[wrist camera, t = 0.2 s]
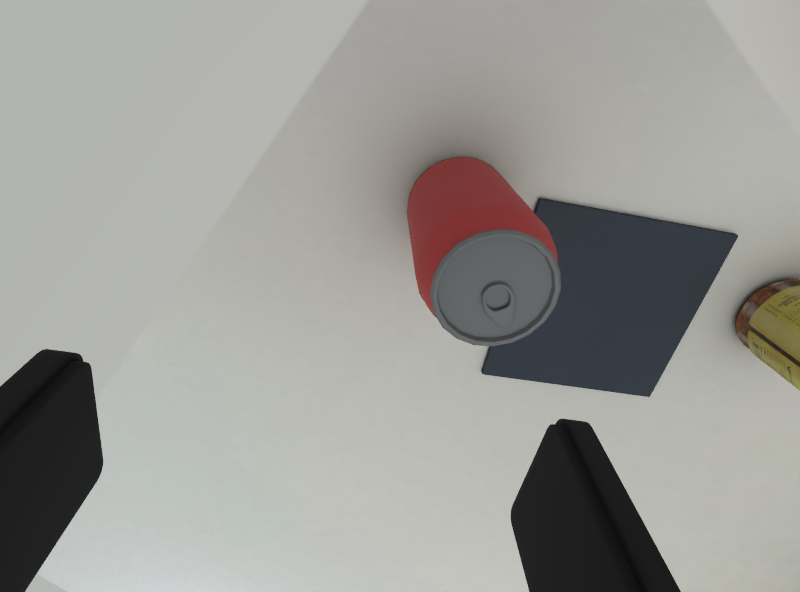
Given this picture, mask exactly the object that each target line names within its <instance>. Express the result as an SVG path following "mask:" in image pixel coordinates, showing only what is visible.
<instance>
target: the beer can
mask: <svg viewBox="0 0 800 592" xmlns="http://www.w3.org/2000/svg"><path fill="white" fill-rule="evenodd" d="M407 217H408V224H409V231H410V239H411V246H412V253H413V260H414V268H415V275H416V280H417V284H418V289H419V293H420V295H421V297H422V298H423V300H424V301H425V303H426V305H427V306H428V308H429V309H430V311H431V312H432V314H433V315H434V316H435V317H436V318H437V319H438V320H439V322H440V324H441V325H442V327H443V328H444V329H445V330H447V331H448V332H449V333H451V334H452V335H453V336H454V337H456V338H457V339H460V340H462V341H465V342H468V343H470V344H473V345H483V346H497V345H502V344H508V343H512V342H514V341H517V340H519V339H521V338H523V337H525V336H527V335H529V334H531V333H532V332H533V331H534V330H536V329H537V328H538V327H539V326H540V325H542V324H543V323H544V322H545V321H546V319H547V318H548V316H549V315H550V314H551V312H552V311H553V309H554V308H555V306H556V303H557V300H558V297H559V293H560V290H561V278H560V269H559V266H558V259H557V250H556V246H555V244H554V242H553V240H552V237H551V235H550V233H549V230H548V228H547V227H546V226H545V225H544V223H543V222H542V221H541V220H540V219H539V218H538V217H537V216H536V214H535V213H534V212H533V211H532V210H531V209H530V208H529V206H528V205H527V204H526V203H525V202H524V201H523V200H522V199H521V197H520V196H519V195H518V194H517V193H516V192H515V191H514V189H513V188H512V187H511V186H510V185H509V184H508V183H507V182H506V180H505V179H504V178H503V177H502V176H501V175H500V174H499V173H498V172H497V171H496V170H495V169H494V168H493V167H492V166H491V165H489V164H487V163H484V162H482V161H480V160H478V159H475V158H466V157H456V158H452V159H447V160H443V161H441V162H439V163H437V164H436V165H434V166H432V167H430V168H429V169H427V170H426V171H425V172H424V173H423V175H422V176H421V177H420V178H419V179H418V180H417V181H416V183H415V185H414V187H413V189H412V191H411V193H410V195H409V200H408V208H407Z"/></svg>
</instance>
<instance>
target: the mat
mask: <svg viewBox="0 0 800 592" xmlns="http://www.w3.org/2000/svg"><path fill="white" fill-rule="evenodd" d="M534 213H535V214H536V216H537V217H538V218H539V219H540V220H541V221H542V222H543V223H544V225H545V226H546V227H547V228H548V230H549V233H550V235H551V237H552V240H553V242H554V244H555V246H556V250H557V259H558V266H559V269H560V278H561V290H560V293H559V297H558V300H557V303H556V306H555V308H554V309H553V311H552V312H551V314H550V315H549V316H548V318H547V319H546V321H545V322H544V323H543V324H542V325H540V326H539V327H538V328H537V329H536V330H534V331H533V332H532V333H531V334H529V335H527V336H525V337H523V338H521V339H519V340H517V341H514V342H512V343H508V344H502V345H497V346H490V347H489V350H488V353H487V356H486V359H485V362H484V365H483V368H482V374H486V375H493V376H500V377H508V378H515V379H522V380H530V381H537V382H544V383H552V384H559V385H566V386H574V387H581V388H588V389H596V390H603V391H610V392H618V393H625V394H632V395H640V396H647V397H650V395H651V393H652V391H653V390H654V388H655V386H656V384H657V382H658V381H659V379H660V377H661V375H662V373H663V371H664V370H665V368H666V366H667V364H668V362H669V361H670V359H671V357H672V355H673V353H674V352H675V350H676V348H677V346H678V344H679V342H680V341H681V339H682V337H683V335H684V333H685V332H686V330H687V328H688V326H689V324H690V323H691V321H692V319H693V317H694V315H695V313H696V312H697V310H698V308H699V306H700V304H701V303H702V301H703V299H704V297H705V295H706V294H707V292H708V290H709V288H710V286H711V284H712V283H713V281H714V279H715V277H716V275H717V274H718V272H719V270H720V268H721V266H722V265H723V263H724V261H725V259H726V257H727V255H728V254H729V252H730V250H731V248H732V246H733V245H734V243H735V241H736V239H737V237H738V235H736V234H733V233H728V232H722V231H717V230H711V229H706V228H701V227H695V226H690V225H684V224H679V223H673V222H668V221H662V220H657V219H651V218H646V217H640V216H635V215H629V214H624V213H618V212H613V211H608V210H602V209H597V208H591V207H586V206H580V205H575V204H569V203H564V202H558V201H553V200H547V199H542V198H539V199H538V202H537V205H536V208H535V211H534Z"/></svg>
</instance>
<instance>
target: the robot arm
mask: <svg viewBox="0 0 800 592" xmlns="http://www.w3.org/2000/svg"><path fill="white" fill-rule="evenodd" d="M102 467H103V456H102V448H101V440H100V432H99V425H98V417H97V409H96V401H95V394H94V386H93V378H92V371H91V366H90V364H89V363H87V362H83V359H82V357H81V355H80V354H77V353H71V352H64V351H56V350H48V349H46V350H42V351H40V352H39V353H37V354H36V355H35V356H34V357H33V358H32V359H31V360H29V362H27V363H26V364H25V365H24V366H23V367H22V368H21V369H20V370H19V371H17V372H16V373H15V374H14V375H13V376H12V377H11V378H10V379H8V380H7V381H6V382H5V383H4V384H3V385H2V386H1V387H0V592H25V590H26V589H27V587H28V586H29V584H30V583H31V581H32V580H33V578H34V577H35V575H36V574H37V572H38V570H39V569H40V567H41V566H42V564H43V563H44V561H45V560H46V558H47V557H48V555H49V554H50V552H51V551H52V549H53V548H54V546H55V544H56V543H57V541H58V540H59V538H60V537H61V535H62V534H63V532H64V531H65V529H66V528H67V526H68V525H69V523H70V522H71V520H72V518H73V517H74V515H75V514H76V512H77V511H78V509H79V508H80V506H81V505H82V503H83V502H84V500H85V499H86V497H87V496H88V494H89V492H90V491H91V489H92V488H93V486H94V485H95V483H96V482H97V480H98V478H99V476H100V474H101V471H102ZM511 523H512V527H513V531H514V535H515V539H516V542H517V546H518V550H519V554H520V557H521V561H522V565H523V569H524V572H525V576H526V580H527V584H528V588H529V591H530V592H681V591H680V590H679V588H678V586H677V584H676V582H675V580H674V578H673V577H672V575H671V573H670V571H669V569H668V567H667V565H666V564H665V562H664V560H663V558H662V556H661V554H660V552H659V551H658V549H657V547H656V545H655V543H654V541H653V540H652V538H651V536H650V534H649V532H648V530H647V528H646V527H645V525H644V523H643V521H642V519H641V517H640V515H639V514H638V512H637V510H636V508H635V506H634V504H633V503H632V501H631V499H630V497H629V495H628V493H627V491H626V490H625V488H624V486H623V484H622V482H621V480H620V478H619V477H618V475H617V473H616V471H615V469H614V467H613V465H612V464H611V462H610V460H609V458H608V456H607V454H606V453H605V451H604V449H603V447H602V445H601V443H600V441H599V440H598V438H597V436H596V434H595V432H594V430H593V428H592V427H591V426H590V424H589V423H587V422H582V421H575V420H568V419H560V420H558V421H557V422H556V424H555V425H550V426H549V427H548V429H547V431H546V433H545V435H544V437H543V440H542V442H541V444H540V446H539V448H538V451H537V453H536V455H535V457H534V459H533V462H532V464H531V466H530V468H529V470H528V473H527V475H526V477H525V479H524V481H523V484H522V486H521V488H520V490H519V492H518V495H517V497H516V499H515V501H514V504H513V506H512V510H511Z"/></svg>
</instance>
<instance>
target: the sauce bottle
mask: <svg viewBox="0 0 800 592" xmlns="http://www.w3.org/2000/svg"><path fill="white" fill-rule="evenodd" d="M736 332H737V334H738V336H739V338H740V340H741V341H742V342H743V344H744V345H745V346H746V347H748V348H749V349H750V350H751V352H752V353H753V354H754V355H755V356H757V357H758V358H759V359H760V360H762V361H763V362H764V363H766V364H767V365H768V366H769V367H771V368H772V369H773V370H774V371H776V372H777V373H778V374H779V375H781V376H782V377H783V378H785V379H786V380H787V381H788V382H790V383H791V384H792V385H794V386H795V387H796V388H798V389H799V390H800V280H794V279H791V280H784V281H779V282H775V283H773V284H771V285H767V286H765V287H764V288H762V289H760V290H758V291H756V292H754V293H753V294H752V296H751V297H750V298H749V299H748V301H747V302H746V303H745V304H744V306H743V308H742V309H741V310H740V312H739V314H738V316H737V319H736Z"/></svg>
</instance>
